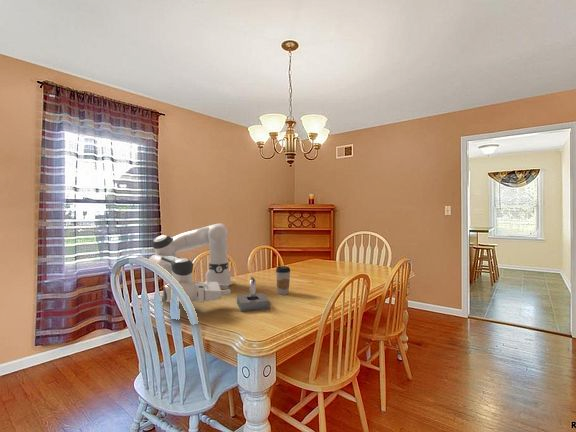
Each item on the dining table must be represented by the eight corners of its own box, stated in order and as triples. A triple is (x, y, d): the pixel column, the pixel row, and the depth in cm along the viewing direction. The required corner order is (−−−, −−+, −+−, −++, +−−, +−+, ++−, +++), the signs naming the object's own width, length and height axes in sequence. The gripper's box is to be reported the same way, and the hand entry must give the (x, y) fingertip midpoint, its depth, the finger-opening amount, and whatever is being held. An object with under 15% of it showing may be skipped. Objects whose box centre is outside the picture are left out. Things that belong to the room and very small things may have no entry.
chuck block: (236, 303, 159) (236, 295, 159) (263, 300, 163) (263, 293, 163) (240, 311, 146) (240, 303, 146) (269, 309, 150) (269, 300, 150)
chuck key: (248, 304, 157) (248, 277, 156) (254, 304, 158) (254, 276, 157) (250, 307, 152) (250, 279, 152) (256, 307, 153) (256, 279, 152)
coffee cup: (277, 295, 173) (277, 269, 173) (274, 291, 181) (274, 266, 181) (292, 294, 175) (292, 268, 175) (288, 290, 183) (288, 265, 183)
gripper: (199, 291, 157) (226, 289, 161) (200, 303, 137) (231, 301, 141) (199, 279, 157) (226, 277, 161) (200, 289, 137) (231, 287, 141)
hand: (229, 288), depth 151 cm, fingers open, 8 cm apart
